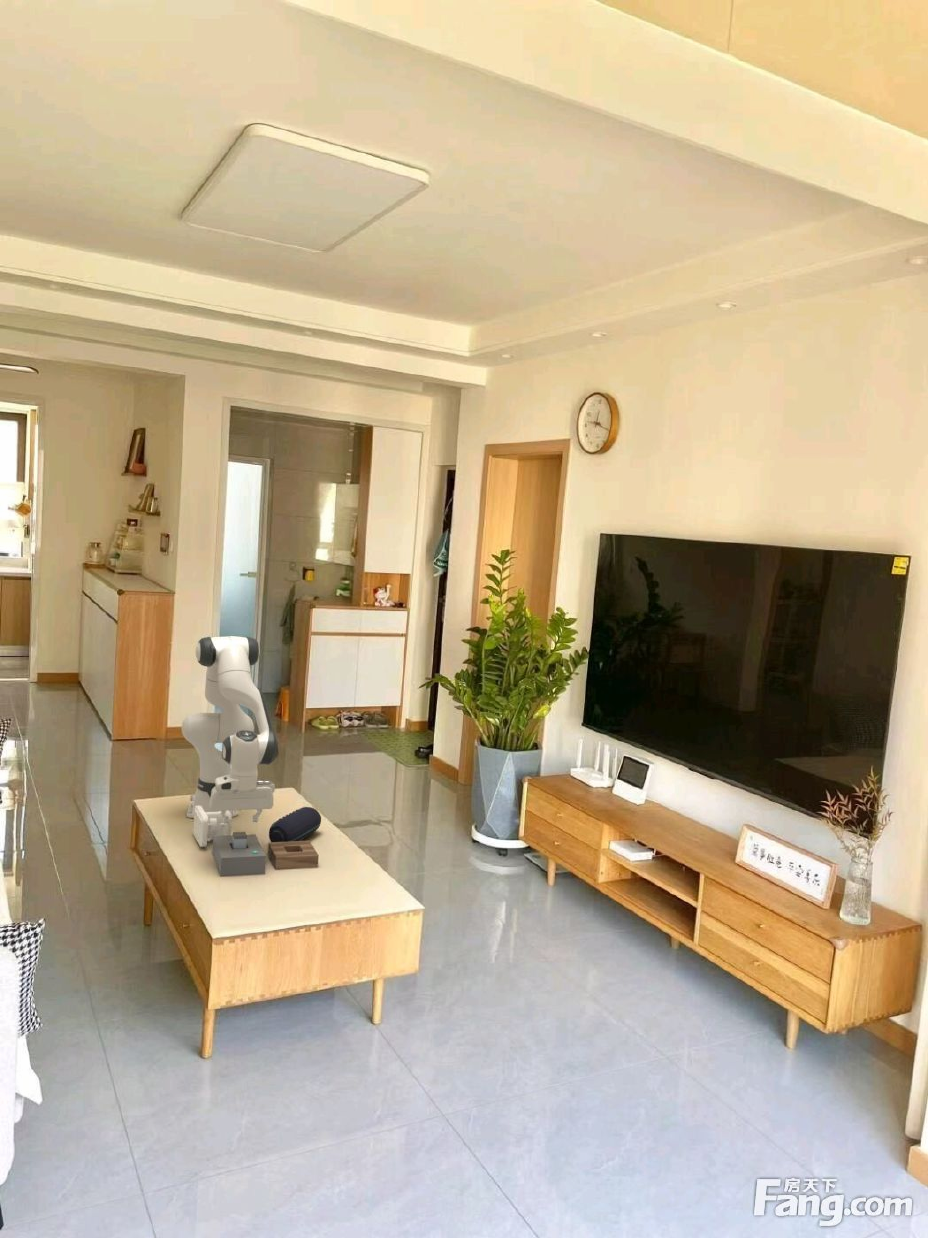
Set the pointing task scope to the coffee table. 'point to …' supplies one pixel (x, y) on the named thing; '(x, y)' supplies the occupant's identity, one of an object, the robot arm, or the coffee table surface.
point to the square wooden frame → (292, 854)
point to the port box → (238, 856)
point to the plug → (239, 840)
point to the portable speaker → (295, 825)
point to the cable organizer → (210, 825)
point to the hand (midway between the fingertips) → (240, 822)
